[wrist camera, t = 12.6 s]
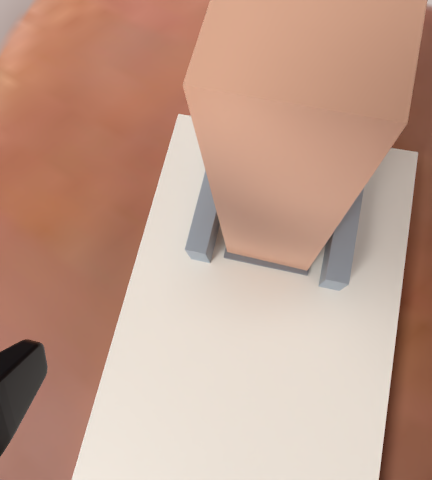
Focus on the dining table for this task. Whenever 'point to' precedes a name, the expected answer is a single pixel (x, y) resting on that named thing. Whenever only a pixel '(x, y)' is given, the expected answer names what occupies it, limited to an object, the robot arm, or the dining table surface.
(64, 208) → the dining table surface
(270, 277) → the dock
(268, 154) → the tall peach block
